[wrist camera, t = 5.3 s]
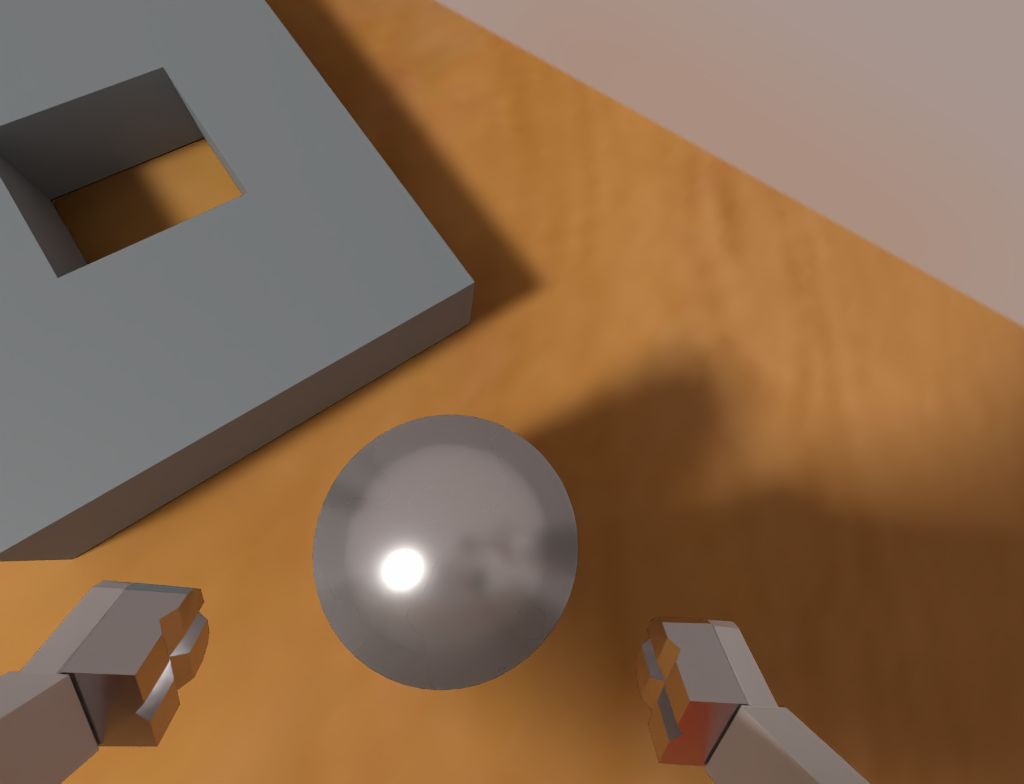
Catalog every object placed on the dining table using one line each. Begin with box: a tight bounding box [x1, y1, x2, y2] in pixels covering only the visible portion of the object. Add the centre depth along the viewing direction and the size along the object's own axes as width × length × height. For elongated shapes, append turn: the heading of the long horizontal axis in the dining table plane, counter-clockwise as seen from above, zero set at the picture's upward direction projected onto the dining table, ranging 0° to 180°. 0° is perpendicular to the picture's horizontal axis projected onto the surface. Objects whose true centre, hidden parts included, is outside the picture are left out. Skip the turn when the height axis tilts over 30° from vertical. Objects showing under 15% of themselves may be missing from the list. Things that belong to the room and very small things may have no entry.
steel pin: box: [313, 415, 578, 690], centre depth 12 cm, size 4×4×9 cm
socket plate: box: [0, 0, 475, 561], centre depth 17 cm, size 18×14×3 cm
